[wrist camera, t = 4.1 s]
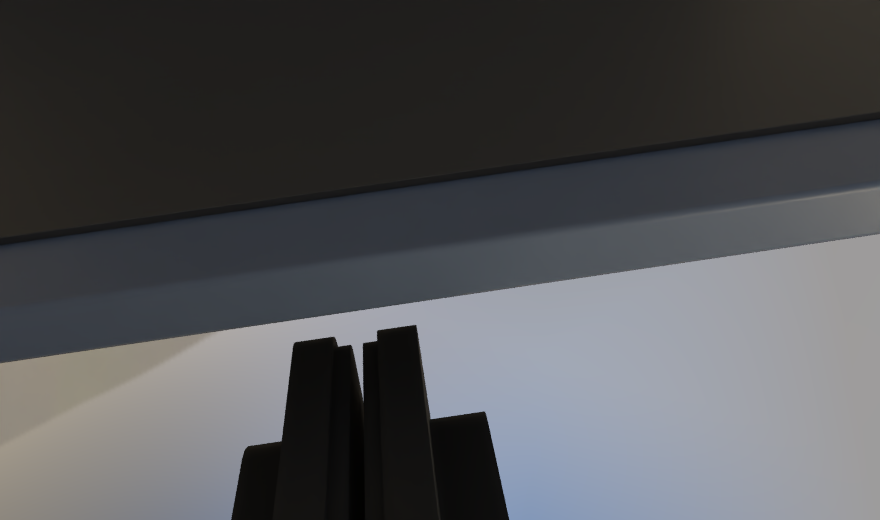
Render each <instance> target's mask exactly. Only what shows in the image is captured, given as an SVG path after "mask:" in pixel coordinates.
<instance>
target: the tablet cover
mask: <svg viewBox="0 0 880 520" xmlns="http://www.w3.org/2000/svg"><path fill="white" fill-rule="evenodd" d="M875 234H880V0H0V363H5V362H12V361H18V360H25V359H32V358H39V357H46V356H52V355H59V354H66V353H73V352H80V351H86V350H93V349H100V348H107V347H114V346H120V345H127V344H134V343H141V342H148V341H154V340H161V339H168V338H175V337H182V336H188V335H195V334H202V333H209V332H216V331H222V330H229V329H236V328H243V327H249V326H256V325H263V324H270V323H277V322H283V321H290V320H297V319H304V318H311V317H318V316H324V315H331V314H338V313H345V312H351V311H358V310H365V309H372V308H379V307H385V306H392V305H399V304H406V303H413V302H420V301H426V300H432V299H439V298H447V297H454V296H460V295H467V294H474V293H481V292H488V291H494V290H501V289H508V288H515V287H522V286H528V285H535V284H542V283H549V282H555V281H562V280H569V279H576V278H583V277H589V276H596V275H603V274H610V273H617V272H623V271H630V270H636V269H644V268H651V267H657V266H665V265H671V264H678V263H685V262H691V261H698V260H705V259H712V258H718V257H726V256H732V255H739V254H746V253H752V252H760V251H767V250H773V249H780V248H787V247H793V246H800V245H807V244H814V243H821V242H828V241H835V240H840V239H848V238H855V237H862V236H868V235H875Z"/></svg>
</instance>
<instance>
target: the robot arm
mask: <svg viewBox="0 0 880 520" xmlns="http://www.w3.org/2000/svg"><path fill="white" fill-rule="evenodd" d="M363 389H364V390H363V391H364V402H363V397H362V393H361V388H360V382H359V377H358V373H357V368H356V362H355V358H354V353H353V349H352V346H351V345H347V346H340V347H338V345H337V342H336V339H335V337H329V338H322V339H315V340H308V341H301V342H295V343H294V346H293V352H292V360H291V369H290V377H289V385H288V394H287V402H286V410H285V419H284V427H283V435H282V441H281V442H274V443H267V444H261V445H254V446H248V447H247V448H246V449H245V451H244V455H243V458H242V464H241V469H240V474H239V480H238V485H237V491H236V496H235V502H234V508H233V513H232V519H231V520H509V517H508V512H507V508H506V503H505V498H504V494H503V489H502V485H501V480H500V476H499V471H498V466H497V462H496V457H495V452H494V448H493V443H492V439H491V434H490V429H489V425H488V421H487V417H486V413H485V412H479V413H471V414H464V415H458V416H451V417H444V418H437V419H430V412H429V405H428V399H427V392H426V386H425V379H424V372H423V366H422V359H421V353H420V346H419V339H418V333H417V327H416V325H412V326H405V327H398V328H391V329H384V330H378V331H377V341H375V342H369V343H363Z"/></svg>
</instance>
